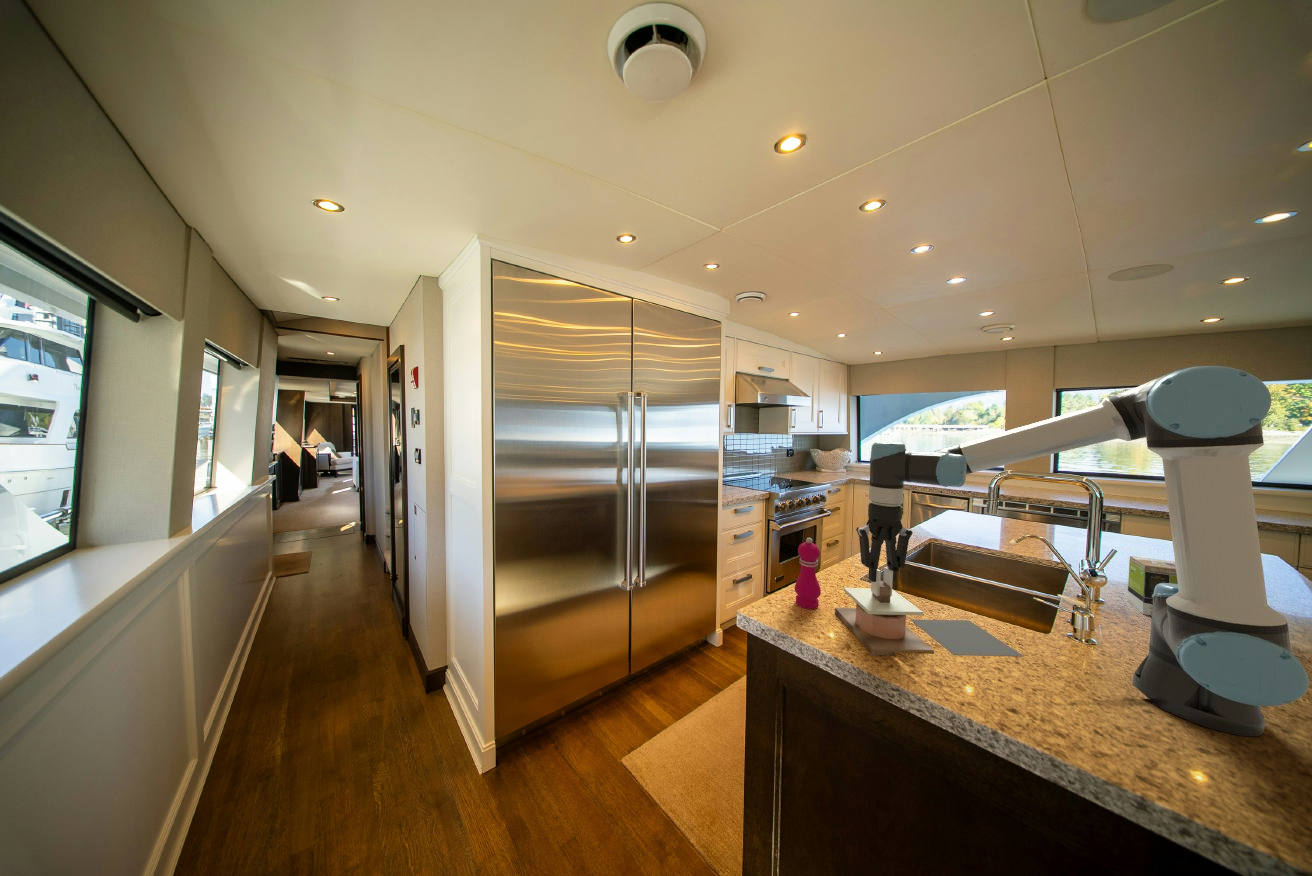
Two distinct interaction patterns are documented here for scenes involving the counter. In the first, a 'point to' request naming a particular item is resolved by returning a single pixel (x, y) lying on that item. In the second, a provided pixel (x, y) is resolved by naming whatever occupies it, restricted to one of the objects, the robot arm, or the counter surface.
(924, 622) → the mat
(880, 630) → the bowl
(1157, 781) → the counter surface
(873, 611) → the lid
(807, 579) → the pepper mill
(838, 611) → the board
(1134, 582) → the tea box
